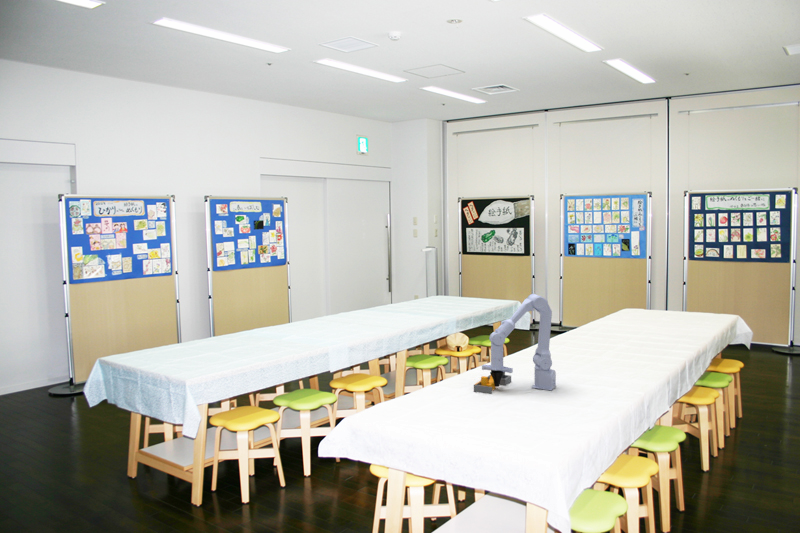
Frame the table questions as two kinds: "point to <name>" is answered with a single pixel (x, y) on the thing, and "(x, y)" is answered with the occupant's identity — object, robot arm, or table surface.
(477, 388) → the grey piece
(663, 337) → the table surface
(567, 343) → the table surface
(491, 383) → the pipe clamp
